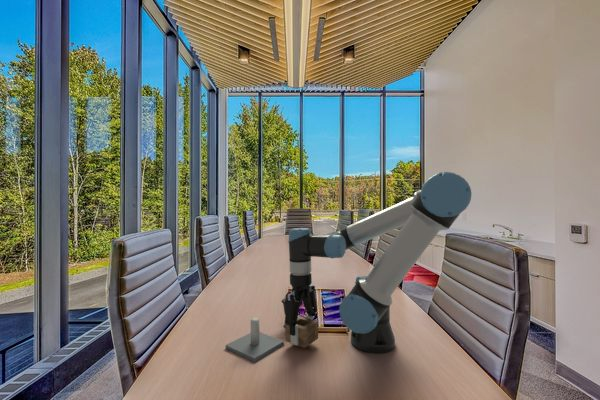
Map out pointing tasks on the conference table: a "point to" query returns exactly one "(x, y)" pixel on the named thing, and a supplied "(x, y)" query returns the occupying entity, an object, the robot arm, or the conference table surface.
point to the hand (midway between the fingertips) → (302, 339)
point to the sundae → (285, 304)
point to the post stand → (254, 343)
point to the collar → (304, 331)
